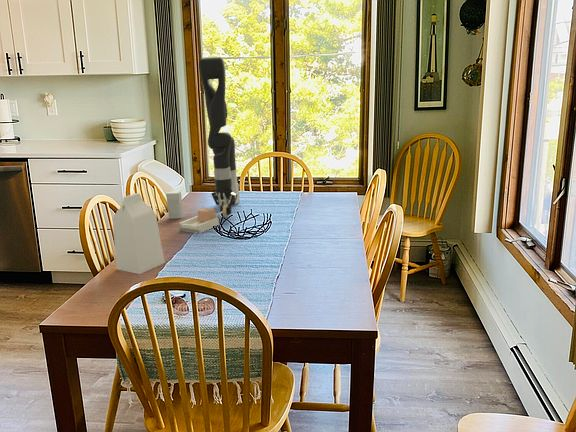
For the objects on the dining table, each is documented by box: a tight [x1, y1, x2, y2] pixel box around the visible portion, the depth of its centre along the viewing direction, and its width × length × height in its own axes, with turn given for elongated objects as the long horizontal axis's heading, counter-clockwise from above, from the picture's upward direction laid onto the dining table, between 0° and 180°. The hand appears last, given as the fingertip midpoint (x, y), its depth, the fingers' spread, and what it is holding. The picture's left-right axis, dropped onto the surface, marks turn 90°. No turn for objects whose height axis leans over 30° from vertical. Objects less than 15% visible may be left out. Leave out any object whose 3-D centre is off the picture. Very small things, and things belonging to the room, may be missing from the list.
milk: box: [112, 192, 166, 275], centre depth 197 cm, size 12×12×26 cm
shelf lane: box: [179, 215, 220, 234], centre depth 242 cm, size 13×11×4 cm
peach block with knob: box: [196, 205, 230, 222], centre depth 251 cm, size 17×6×6 cm, turn 148°
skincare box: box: [165, 190, 185, 219], centre depth 260 cm, size 6×4×12 cm
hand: (225, 214), depth 257 cm, fingers closed on peach block with knob, 2 cm apart
